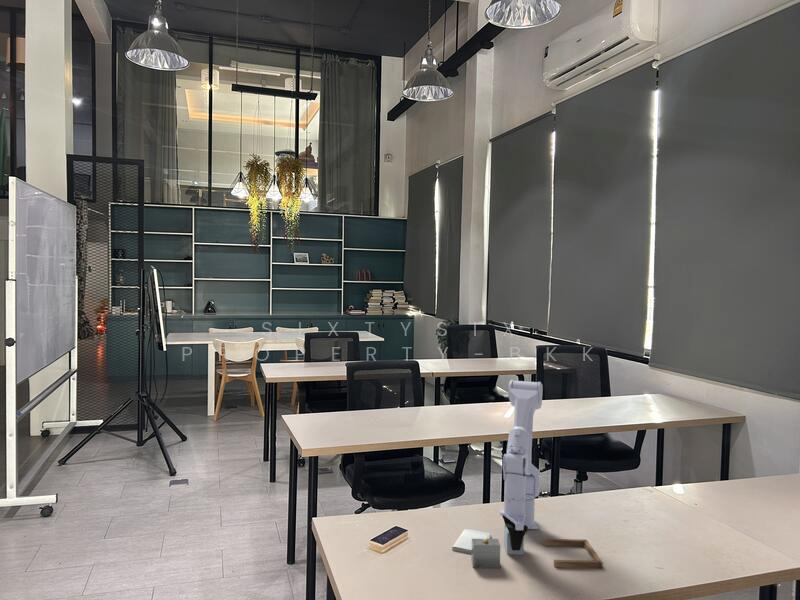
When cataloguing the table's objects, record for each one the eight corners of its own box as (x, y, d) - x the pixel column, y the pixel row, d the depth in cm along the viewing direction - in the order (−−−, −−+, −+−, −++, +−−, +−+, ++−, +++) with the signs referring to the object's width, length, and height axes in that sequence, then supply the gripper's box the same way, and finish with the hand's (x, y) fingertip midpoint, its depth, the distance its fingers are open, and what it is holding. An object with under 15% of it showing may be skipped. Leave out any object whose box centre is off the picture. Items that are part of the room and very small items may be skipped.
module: (503, 546, 159) (504, 524, 159) (519, 546, 159) (520, 524, 159) (507, 554, 155) (507, 531, 154) (523, 554, 155) (524, 532, 154)
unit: (471, 560, 151) (471, 535, 151) (497, 560, 151) (497, 536, 151) (473, 567, 147) (473, 542, 147) (499, 568, 147) (500, 543, 147)
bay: (542, 544, 161) (542, 538, 161) (586, 544, 161) (586, 539, 161) (554, 567, 148) (554, 561, 148) (602, 568, 148) (602, 562, 148)
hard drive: (481, 552, 154) (491, 533, 165) (452, 546, 157) (464, 527, 168) (481, 558, 154) (491, 538, 165) (452, 552, 157) (464, 533, 168)
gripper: (495, 486, 164) (494, 532, 164) (505, 506, 149) (504, 557, 150) (520, 486, 164) (519, 533, 164) (531, 507, 149) (530, 557, 150)
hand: (513, 544), depth 157 cm, fingers open, 5 cm apart
